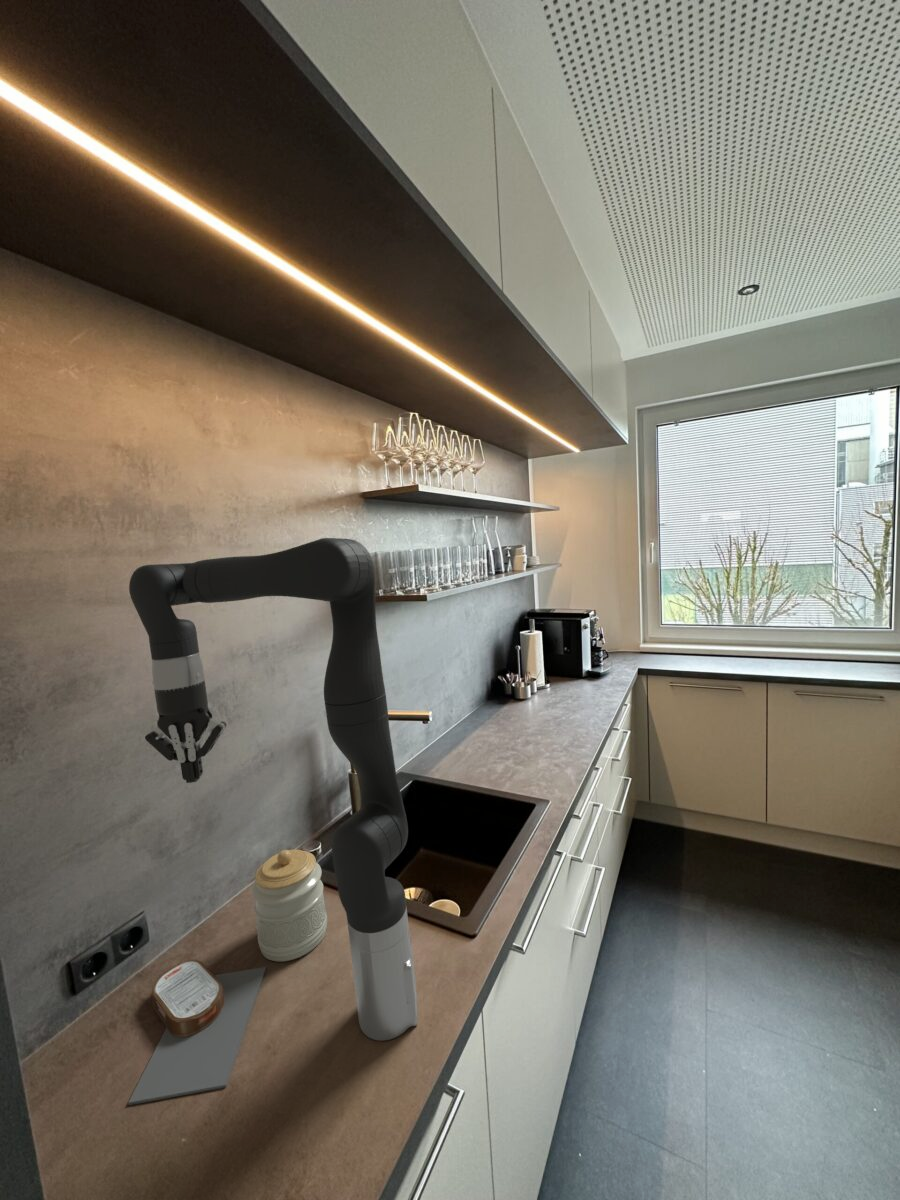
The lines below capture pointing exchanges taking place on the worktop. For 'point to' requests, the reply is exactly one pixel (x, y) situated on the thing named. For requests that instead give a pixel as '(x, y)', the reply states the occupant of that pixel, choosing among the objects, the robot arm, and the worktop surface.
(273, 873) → the jar
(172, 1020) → the tin
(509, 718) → the worktop surface
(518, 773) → the worktop surface
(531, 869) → the worktop surface
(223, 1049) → the mat
